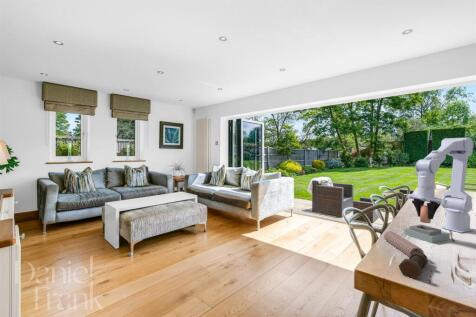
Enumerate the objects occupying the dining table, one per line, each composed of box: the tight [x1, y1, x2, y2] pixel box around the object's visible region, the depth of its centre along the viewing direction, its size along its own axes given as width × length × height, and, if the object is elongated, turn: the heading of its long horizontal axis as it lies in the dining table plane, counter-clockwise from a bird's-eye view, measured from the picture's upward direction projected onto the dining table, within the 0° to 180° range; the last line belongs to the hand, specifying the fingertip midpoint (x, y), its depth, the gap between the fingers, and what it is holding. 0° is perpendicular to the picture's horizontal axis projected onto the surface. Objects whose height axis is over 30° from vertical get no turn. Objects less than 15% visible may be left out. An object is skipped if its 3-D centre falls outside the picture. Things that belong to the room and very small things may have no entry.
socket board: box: [404, 223, 451, 244], centre depth 103 cm, size 12×11×4 cm
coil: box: [383, 230, 425, 258], centre depth 89 cm, size 5×5×18 cm
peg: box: [419, 204, 432, 224], centre depth 102 cm, size 4×4×7 cm
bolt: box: [398, 252, 429, 280], centre depth 74 cm, size 6×5×15 cm
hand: (425, 217), depth 102 cm, fingers closed on peg, 4 cm apart
